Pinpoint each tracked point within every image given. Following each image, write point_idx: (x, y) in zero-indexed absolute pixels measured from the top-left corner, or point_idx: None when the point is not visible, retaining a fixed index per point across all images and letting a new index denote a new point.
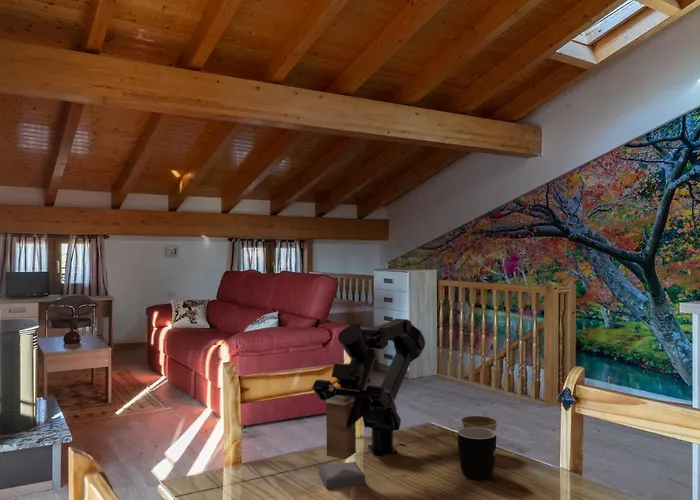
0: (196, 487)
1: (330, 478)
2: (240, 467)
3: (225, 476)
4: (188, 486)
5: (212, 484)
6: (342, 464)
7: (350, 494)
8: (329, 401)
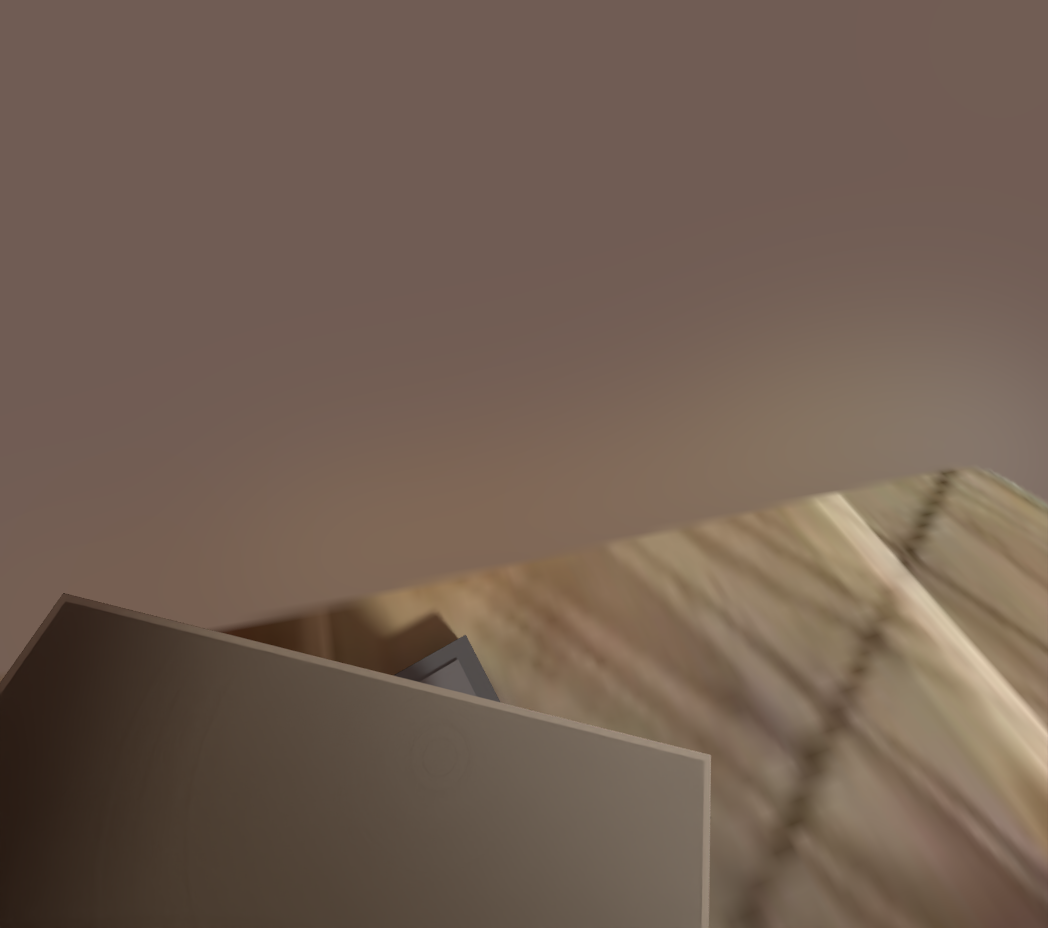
0: (971, 528)
1: (446, 658)
2: (1034, 818)
3: (983, 666)
4: (1002, 530)
5: (948, 568)
6: None
7: (324, 606)
8: (584, 731)
